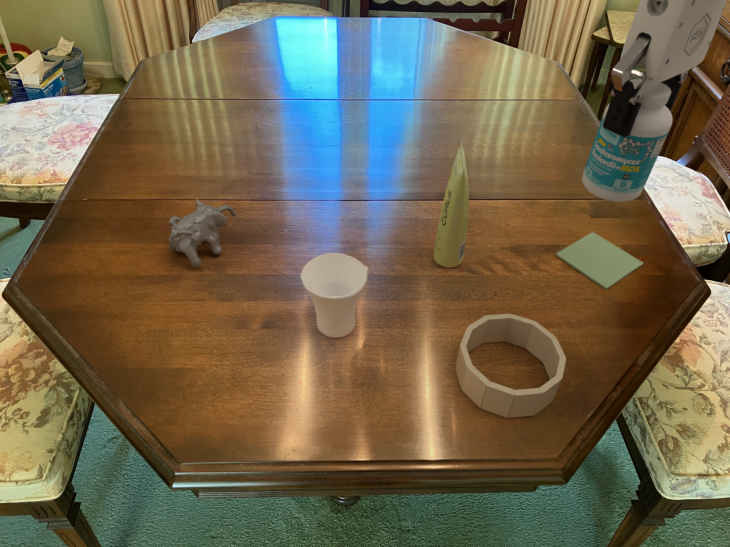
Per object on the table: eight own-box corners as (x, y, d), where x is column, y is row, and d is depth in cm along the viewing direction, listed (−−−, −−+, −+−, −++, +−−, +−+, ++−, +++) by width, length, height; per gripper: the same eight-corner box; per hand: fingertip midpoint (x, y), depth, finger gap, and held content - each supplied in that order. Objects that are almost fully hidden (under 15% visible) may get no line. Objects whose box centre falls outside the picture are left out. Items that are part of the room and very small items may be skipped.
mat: (642, 264, 91) (643, 262, 90) (605, 289, 86) (606, 287, 86) (592, 233, 96) (592, 231, 96) (555, 255, 92) (555, 253, 92)
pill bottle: (570, 188, 70) (602, 87, 61) (595, 165, 75) (629, 67, 65) (627, 212, 67) (670, 108, 58) (650, 187, 71) (694, 86, 62)
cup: (374, 340, 78) (376, 290, 71) (309, 350, 76) (305, 300, 70) (361, 296, 84) (362, 246, 77) (301, 305, 83) (296, 255, 76)
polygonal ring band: (575, 383, 73) (586, 360, 70) (508, 435, 67) (516, 413, 64) (502, 324, 80) (509, 300, 77) (436, 366, 75) (440, 342, 71)
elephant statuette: (161, 260, 90) (149, 223, 84) (203, 219, 98) (195, 182, 92) (209, 275, 87) (200, 238, 82) (249, 232, 95) (243, 195, 90)
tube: (424, 254, 92) (436, 151, 78) (446, 243, 94) (461, 140, 80) (447, 273, 88) (464, 168, 75) (470, 260, 91) (490, 157, 77)
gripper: (690, -25, 46) (620, 158, 58) (782, -54, 54) (704, 113, 66) (612, -44, 51) (562, 130, 63) (708, -69, 58) (648, 91, 70)
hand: (636, 120), depth 64 cm, fingers closed on pill bottle, 7 cm apart
